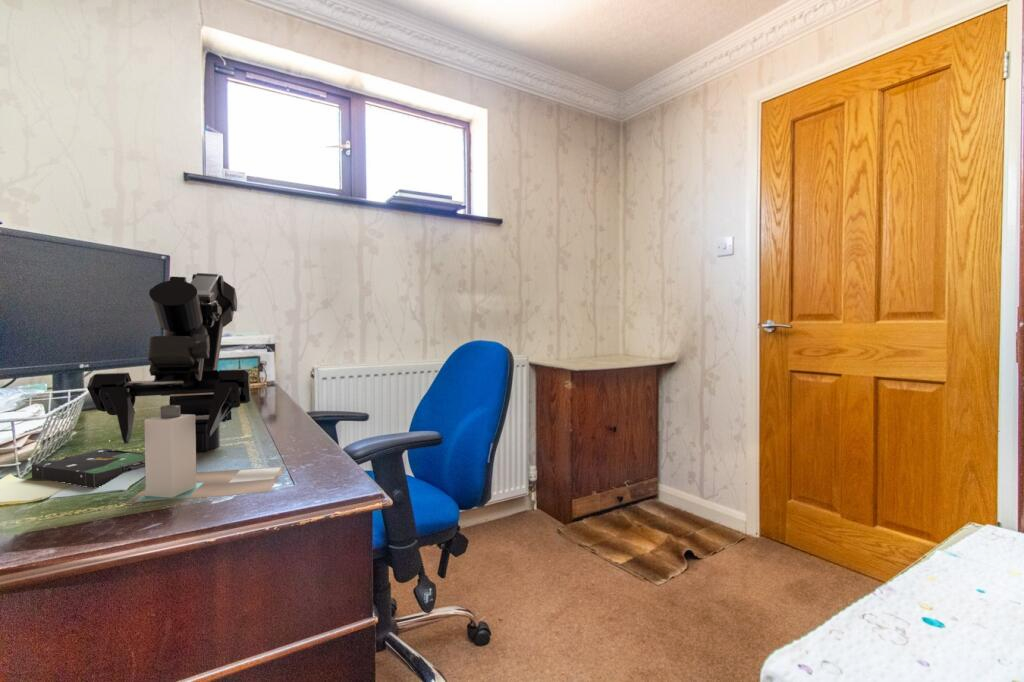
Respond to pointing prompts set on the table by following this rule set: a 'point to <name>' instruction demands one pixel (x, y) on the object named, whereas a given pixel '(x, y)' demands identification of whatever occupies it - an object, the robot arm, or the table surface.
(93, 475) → the disk drive
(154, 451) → the capped white bottle
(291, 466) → the table surface
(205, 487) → the board
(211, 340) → the robot arm
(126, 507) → the table surface
